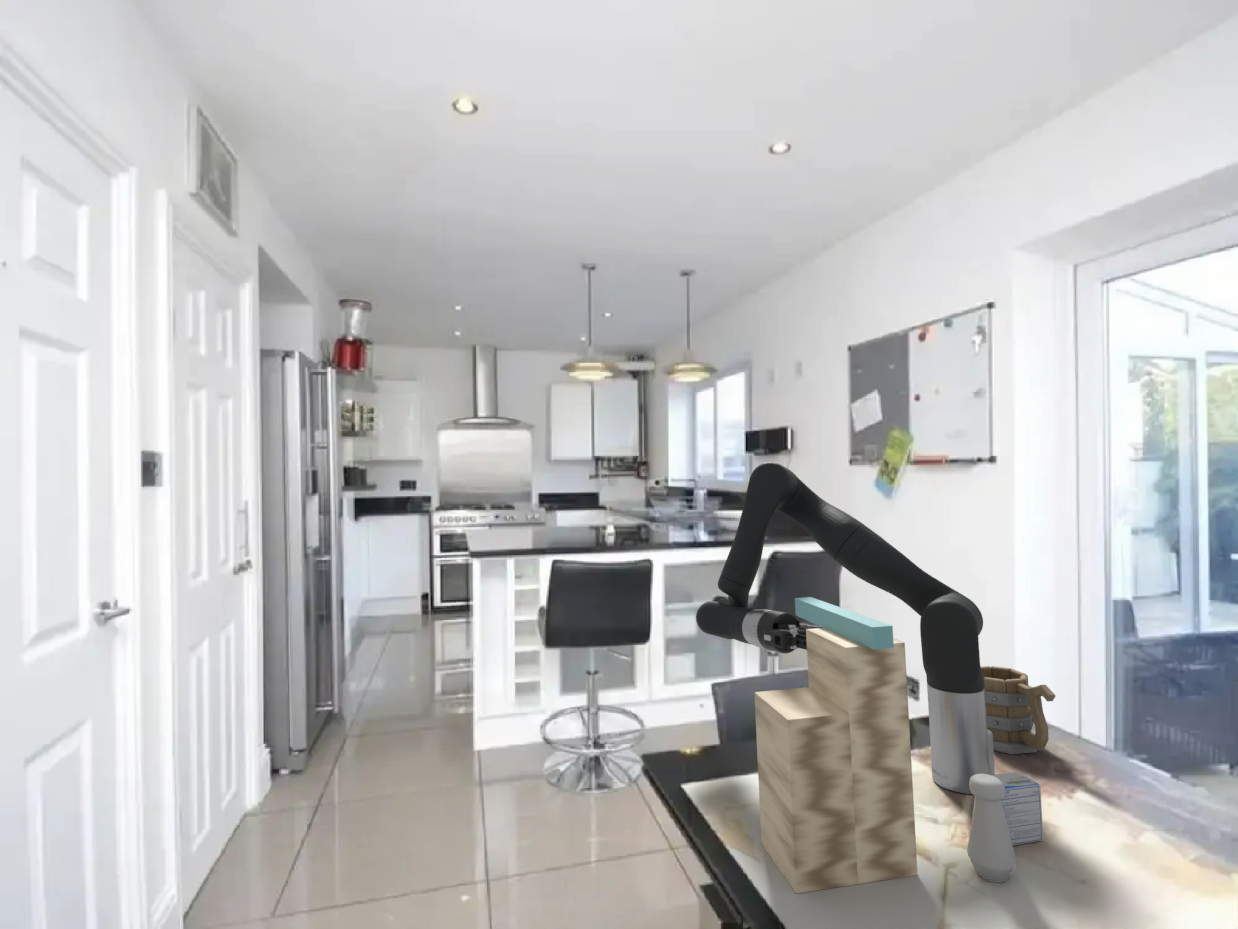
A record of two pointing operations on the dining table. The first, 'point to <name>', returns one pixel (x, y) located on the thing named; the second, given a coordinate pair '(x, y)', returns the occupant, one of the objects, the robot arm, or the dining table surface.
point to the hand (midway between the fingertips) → (834, 642)
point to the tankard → (1015, 711)
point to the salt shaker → (990, 830)
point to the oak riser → (838, 768)
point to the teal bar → (846, 623)
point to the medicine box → (1022, 807)
